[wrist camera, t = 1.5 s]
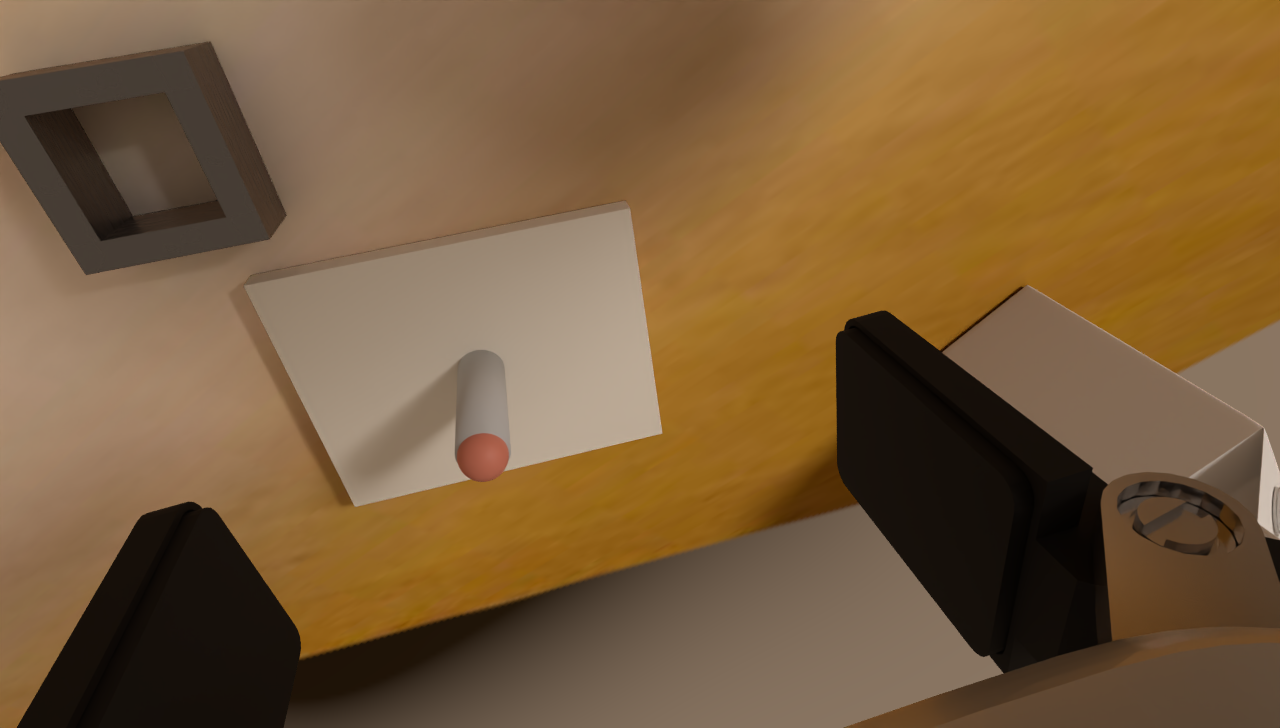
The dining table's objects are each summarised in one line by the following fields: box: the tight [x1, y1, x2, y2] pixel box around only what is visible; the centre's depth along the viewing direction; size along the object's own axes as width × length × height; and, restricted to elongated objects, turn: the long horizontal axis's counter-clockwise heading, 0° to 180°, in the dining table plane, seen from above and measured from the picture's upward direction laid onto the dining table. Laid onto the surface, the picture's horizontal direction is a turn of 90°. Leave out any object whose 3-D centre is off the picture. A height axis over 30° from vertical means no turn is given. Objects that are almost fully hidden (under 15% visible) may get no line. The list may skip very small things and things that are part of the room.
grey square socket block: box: [0, 42, 287, 275], centre depth 27 cm, size 7×7×3 cm
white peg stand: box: [244, 201, 662, 507], centre depth 32 cm, size 14×18×10 cm
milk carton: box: [942, 285, 1280, 540], centre depth 36 cm, size 7×7×19 cm
